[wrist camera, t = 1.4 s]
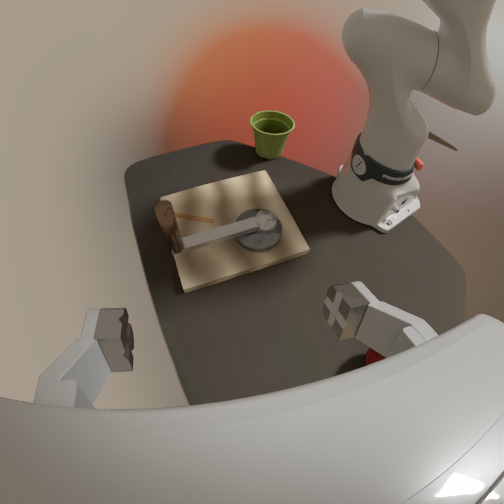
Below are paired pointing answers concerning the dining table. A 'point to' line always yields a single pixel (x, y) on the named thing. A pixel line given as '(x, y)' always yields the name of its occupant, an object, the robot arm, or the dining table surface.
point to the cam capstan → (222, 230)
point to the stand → (226, 212)
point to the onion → (373, 357)
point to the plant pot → (271, 132)
